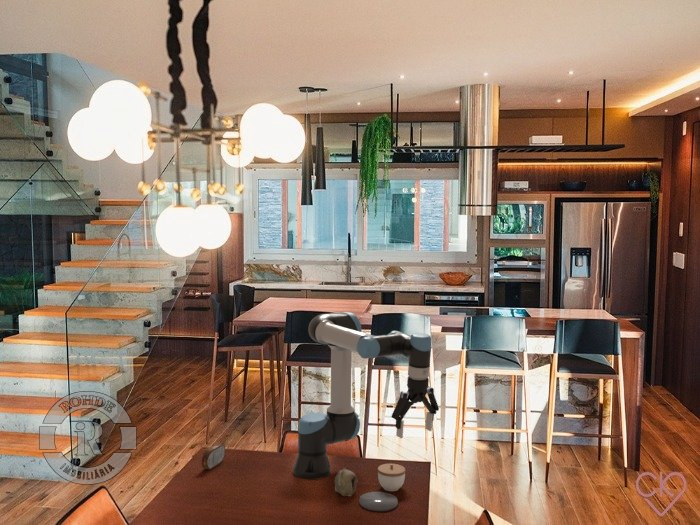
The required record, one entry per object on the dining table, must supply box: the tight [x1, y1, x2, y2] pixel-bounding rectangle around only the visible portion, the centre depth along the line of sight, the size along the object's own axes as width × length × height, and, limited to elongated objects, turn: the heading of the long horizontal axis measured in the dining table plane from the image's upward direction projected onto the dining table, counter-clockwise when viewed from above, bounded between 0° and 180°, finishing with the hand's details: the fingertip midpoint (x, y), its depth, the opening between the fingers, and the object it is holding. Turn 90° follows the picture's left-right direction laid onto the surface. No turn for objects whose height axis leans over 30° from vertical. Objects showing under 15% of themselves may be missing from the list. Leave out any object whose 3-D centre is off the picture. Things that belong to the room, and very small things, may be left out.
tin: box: [201, 442, 226, 470], centre depth 272 cm, size 15×3×8 cm, turn 160°
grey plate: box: [358, 491, 399, 512], centre depth 240 cm, size 14×14×1 cm
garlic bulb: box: [334, 467, 359, 497], centre depth 247 cm, size 9×8×10 cm
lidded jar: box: [377, 463, 406, 492], centre depth 253 cm, size 11×11×9 cm
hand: (414, 433), depth 237 cm, fingers open, 13 cm apart
